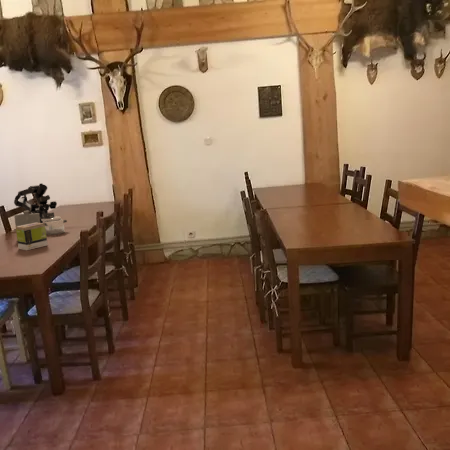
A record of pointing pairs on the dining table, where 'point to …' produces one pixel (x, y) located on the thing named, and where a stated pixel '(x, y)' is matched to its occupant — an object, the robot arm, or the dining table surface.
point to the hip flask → (26, 218)
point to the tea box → (31, 236)
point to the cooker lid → (50, 217)
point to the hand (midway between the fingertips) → (47, 215)
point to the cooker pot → (54, 227)
